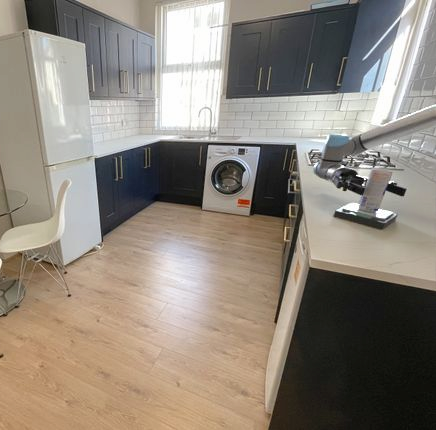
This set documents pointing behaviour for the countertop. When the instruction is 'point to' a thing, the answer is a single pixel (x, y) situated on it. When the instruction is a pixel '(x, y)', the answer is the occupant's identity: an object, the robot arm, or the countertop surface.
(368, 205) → the beverage can
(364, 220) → the scale
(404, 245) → the countertop surface
